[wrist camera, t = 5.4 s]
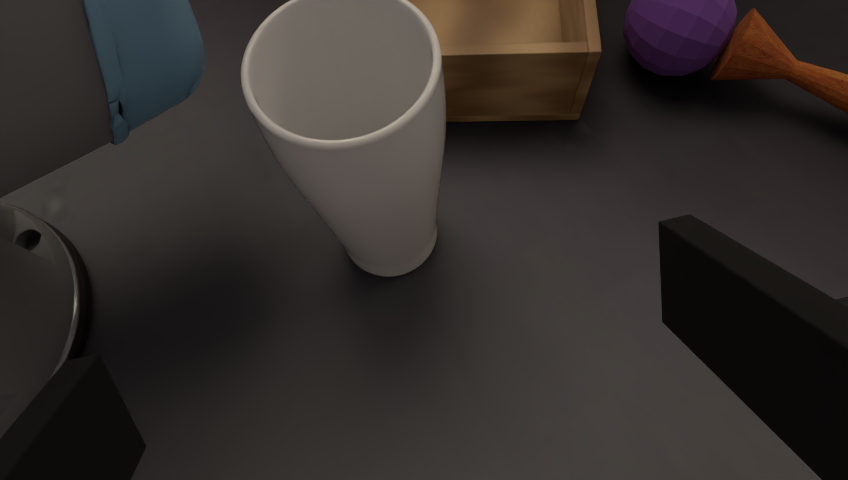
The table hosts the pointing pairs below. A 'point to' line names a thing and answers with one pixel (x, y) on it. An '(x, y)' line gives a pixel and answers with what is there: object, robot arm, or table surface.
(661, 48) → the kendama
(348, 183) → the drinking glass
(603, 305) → the table surface
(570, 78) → the bin
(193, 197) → the table surface
